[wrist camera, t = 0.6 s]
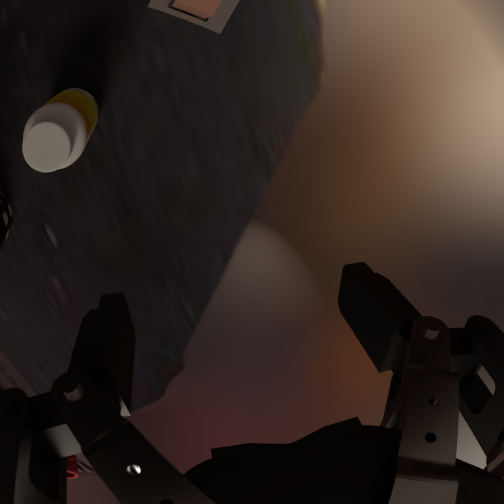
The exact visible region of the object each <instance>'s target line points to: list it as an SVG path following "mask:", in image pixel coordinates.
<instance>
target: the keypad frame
mask: <svg viewBox="0 0 504 504" xmlns="http://www.w3.org/2000/svg"><path fill="white" fill-rule="evenodd" d="M174 1H175V0H151V1H150V3H149V5H148V7H147V10H150V11H153V12H156V13H159V14H162V15H165V16H168V17H171V18H173V19H176V20H179V21H182V22H184V23H187V24H190V25H192V26H195V27H197V28H200V29H202V30H205V31H207V32H209V33H212V34H220V33H221V32H222V30H223V28H224V26H225V24H226V23H227V21H228V19H229V17H230V16H231V14H232V12H233V11H234V9H235V7H236V6H237V4H238V2H239V1H240V0H222V1H221V3H220V5H219V6H218V8H217V10H216V11H215V13H214V15H213V16H211V17H208V18H205V19H204V18H201V17H199V16H196V15H194V14H191V13H189V12H186V11H183V10H181V9H178V8H175V7H172V4H173V2H174Z"/></svg>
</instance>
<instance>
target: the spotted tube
mask: <svg viewBox="0 0 504 504" xmlns="http://www.w3.org/2000/svg"><path fill="white" fill-rule="evenodd" d="M12 221H13V220H12V210H11V207H10V204H9V202H8V200H7V199H6V197H5V196H4V195H3V193H2V192H1V191H0V251H1V249H2V246H3V244H4V242H5V240H6V238H7V236H8V234H9V232H10V229H11V227H12Z"/></svg>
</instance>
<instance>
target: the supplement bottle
mask: <svg viewBox="0 0 504 504" xmlns="http://www.w3.org/2000/svg"><path fill="white" fill-rule="evenodd" d="M97 120H98V106H97V103H96V101H95V99H94V97H93V96H92V95H91V94H90V93H88V92H87V91H85V90H82V89H78V88H71V89H67V90H64V91H62V92H60V93H59V94H57V95H56V96H54V97H53V98H52V99H50V100H49V101H48V102H46V103H45V104H44V105H42V106H41V107H40V108H39V109H37V110H36V111H35V112H34V113H33V114H32V115H31V117H30V118H29V120H28V121H27V123H26V126H25V129H24V134H23V147H22V149H23V155H24V158H25V160H26V161H27V163H28V164H29V165H30V166H31V167H32V168H33V169H35V170H37V171H40V172H52V171H55V170H57V169H62V168H65V167H67V166H69V165H70V164H72V163H73V162H75V161H76V160H77V159H78V157H79V156H80V155H81V153H82V152H83V150H84V148H85V146H86V144H87V142H88V140H89V138H90V136H91V134H92V132H93V130H94V128H95V126H96V123H97Z"/></svg>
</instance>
